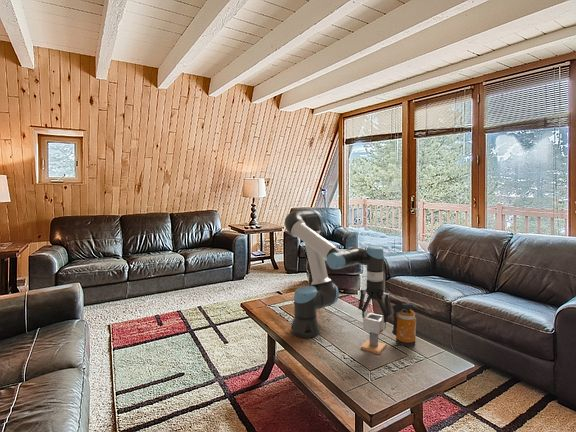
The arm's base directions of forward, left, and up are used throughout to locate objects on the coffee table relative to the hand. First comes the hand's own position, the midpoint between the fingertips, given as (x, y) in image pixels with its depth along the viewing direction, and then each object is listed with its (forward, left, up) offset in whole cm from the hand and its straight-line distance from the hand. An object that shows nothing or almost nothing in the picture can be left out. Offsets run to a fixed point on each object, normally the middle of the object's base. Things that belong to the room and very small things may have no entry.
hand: (374, 326), depth 162 cm
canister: (+10, +13, -11) cm, 20 cm away
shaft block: (0, 0, -11) cm, 11 cm away
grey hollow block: (0, 0, -1) cm, 1 cm away
